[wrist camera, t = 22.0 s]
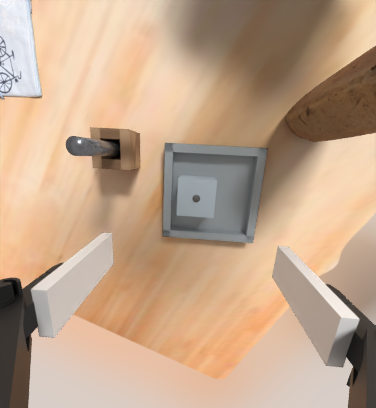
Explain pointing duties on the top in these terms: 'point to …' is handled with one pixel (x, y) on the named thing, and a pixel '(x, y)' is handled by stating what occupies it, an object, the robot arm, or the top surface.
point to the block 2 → (339, 104)
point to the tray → (225, 192)
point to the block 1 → (196, 196)
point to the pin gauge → (91, 147)
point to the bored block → (127, 148)
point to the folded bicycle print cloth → (17, 51)
